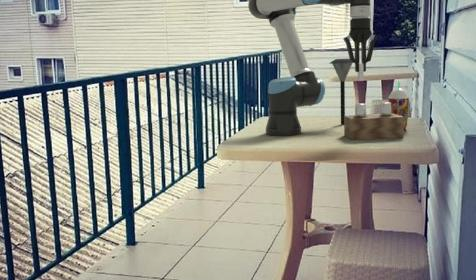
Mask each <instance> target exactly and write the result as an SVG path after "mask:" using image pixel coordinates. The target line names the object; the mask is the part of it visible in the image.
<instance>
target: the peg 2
mask: <svg viewBox="0 0 476 280" xmlns="http://www.w3.org/2000/svg"><path fill="white" fill-rule="evenodd" d="M380 114H381V117H386V116H391V103H389V101H388V102H384V101H383V102H380Z"/></svg>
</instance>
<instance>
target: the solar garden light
mask: <svg viewBox="0 0 476 280" xmlns="http://www.w3.org/2000/svg"><path fill="white" fill-rule="evenodd" d="M328 64H332V66H333V68H334V71H335V73H336V75H337V77H338V79H339V83H340V84H339V85H340V125H341V126H344V116H346V103H345V102H346V97H345V96H346V95H345V93H346V92H345V91H346V90H345V87H346V85H345V82H346V79H347V77H348V75H349V72H350V70H351V67H352V65H353V64H354V63H353V62H351V61H350V58H335V59H334V60H332V61H330V62H329V63H328Z"/></svg>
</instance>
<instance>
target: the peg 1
mask: <svg viewBox="0 0 476 280" xmlns="http://www.w3.org/2000/svg"><path fill="white" fill-rule="evenodd" d="M366 106H367V104H366V103H355V105H354V107H355V108H354V110H355V111H354V112H355V113H354V115H355V118H365V117H366V115H367V110H366V109H367V107H366Z"/></svg>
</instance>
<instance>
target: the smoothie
mask: <svg viewBox="0 0 476 280" xmlns="http://www.w3.org/2000/svg"><path fill="white" fill-rule="evenodd" d="M387 98H388V102H389V103H391V113H394V114H397V115H400V116H403V117H404V131H406V128H408V117H409V105H410V104H409V103H410V96H409V94H408V93H407V91H406V90H405V89H402V88H401V87H400V81H398V82H397V88H395V89H394V90H392V91H391V92H390V94H389V96H388V97H387Z"/></svg>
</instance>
